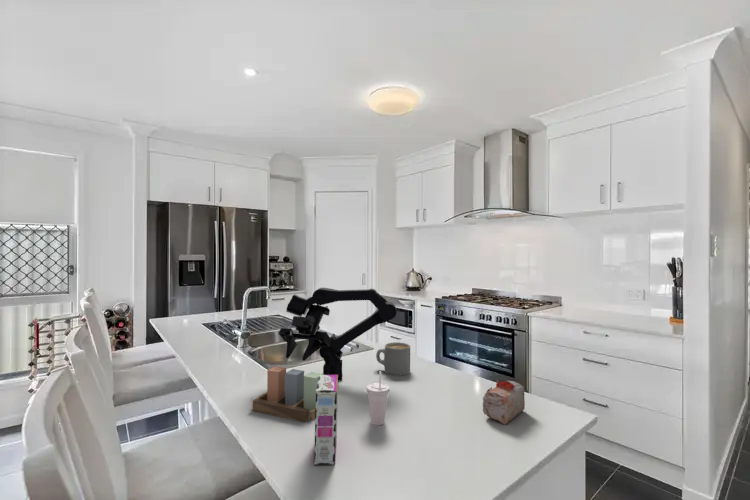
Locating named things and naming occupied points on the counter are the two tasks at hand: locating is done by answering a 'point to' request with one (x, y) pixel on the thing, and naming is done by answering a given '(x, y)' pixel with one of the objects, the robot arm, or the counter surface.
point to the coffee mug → (395, 358)
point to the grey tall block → (294, 386)
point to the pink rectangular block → (275, 383)
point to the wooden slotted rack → (283, 408)
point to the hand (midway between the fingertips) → (294, 359)
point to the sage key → (310, 390)
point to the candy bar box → (326, 420)
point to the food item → (504, 401)
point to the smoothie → (377, 401)
